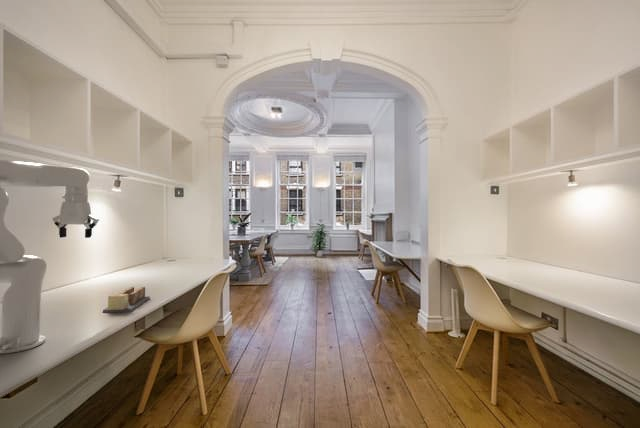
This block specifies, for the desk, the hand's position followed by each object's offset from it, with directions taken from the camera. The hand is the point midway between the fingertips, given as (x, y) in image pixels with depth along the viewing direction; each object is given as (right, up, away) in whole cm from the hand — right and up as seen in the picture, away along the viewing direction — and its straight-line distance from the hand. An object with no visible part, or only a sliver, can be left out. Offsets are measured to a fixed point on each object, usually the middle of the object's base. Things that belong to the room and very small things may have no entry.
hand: (75, 237), depth 126 cm
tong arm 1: (+6, -35, +23) cm, 42 cm away
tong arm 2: (+12, -35, +24) cm, 44 cm away
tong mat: (+9, -36, +20) cm, 43 cm away
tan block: (+11, -35, +11) cm, 38 cm away
